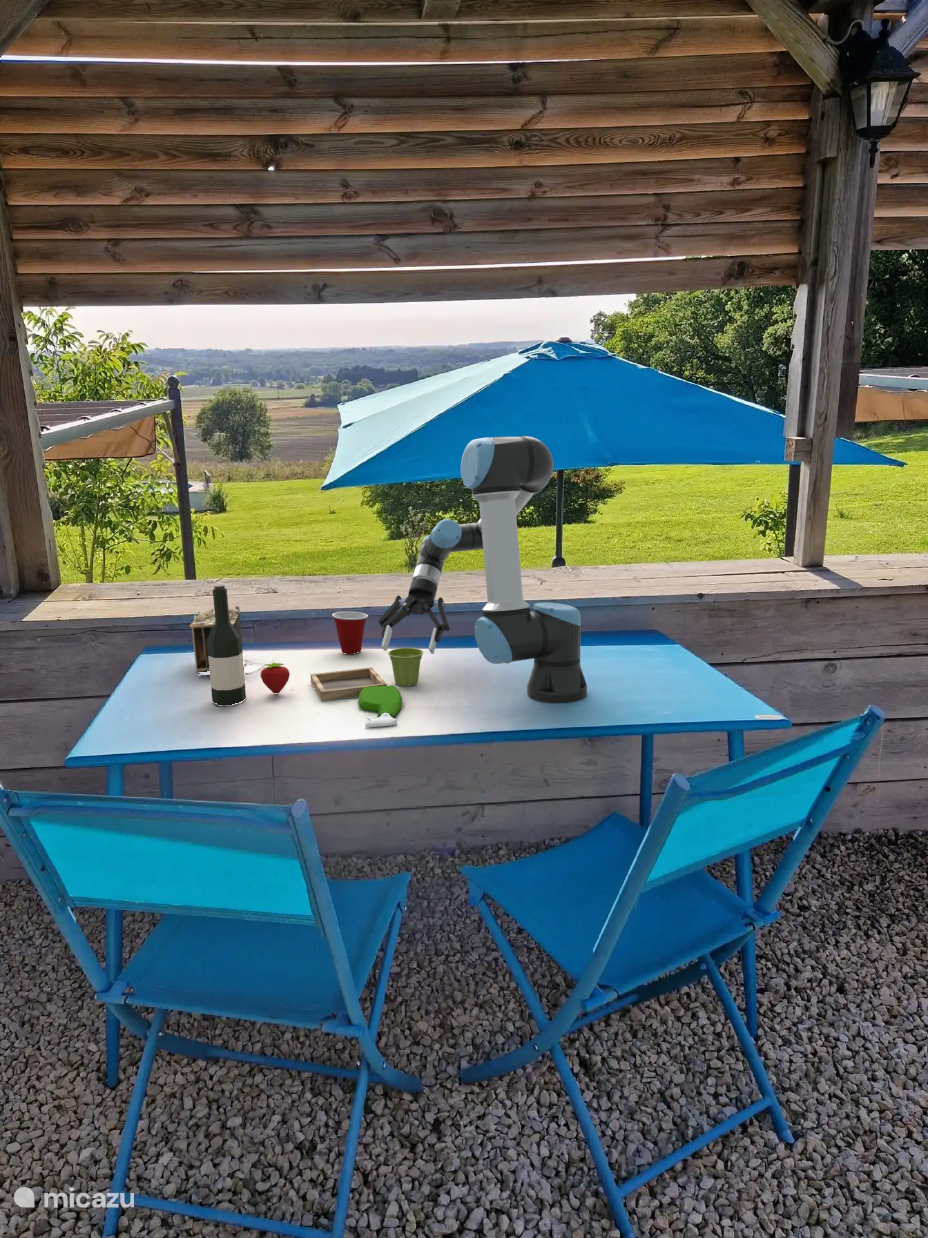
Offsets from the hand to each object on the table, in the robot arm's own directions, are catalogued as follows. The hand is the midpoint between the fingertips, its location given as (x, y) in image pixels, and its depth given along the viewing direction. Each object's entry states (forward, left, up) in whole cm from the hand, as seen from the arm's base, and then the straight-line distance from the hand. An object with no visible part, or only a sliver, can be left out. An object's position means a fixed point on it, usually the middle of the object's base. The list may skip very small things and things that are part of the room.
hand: (407, 649), depth 239 cm
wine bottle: (0, +47, -9) cm, 48 cm away
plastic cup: (+35, +8, -9) cm, 37 cm away
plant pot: (-3, +1, -9) cm, 9 cm away
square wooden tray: (-1, +17, -8) cm, 19 cm away
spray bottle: (-22, +13, -9) cm, 27 cm away
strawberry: (+1, +35, -9) cm, 36 cm away
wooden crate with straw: (+34, +47, -9) cm, 59 cm away
